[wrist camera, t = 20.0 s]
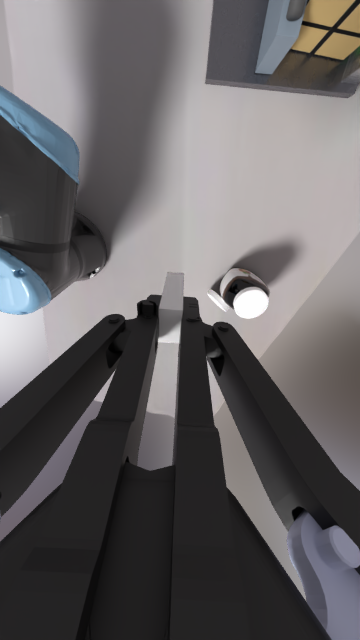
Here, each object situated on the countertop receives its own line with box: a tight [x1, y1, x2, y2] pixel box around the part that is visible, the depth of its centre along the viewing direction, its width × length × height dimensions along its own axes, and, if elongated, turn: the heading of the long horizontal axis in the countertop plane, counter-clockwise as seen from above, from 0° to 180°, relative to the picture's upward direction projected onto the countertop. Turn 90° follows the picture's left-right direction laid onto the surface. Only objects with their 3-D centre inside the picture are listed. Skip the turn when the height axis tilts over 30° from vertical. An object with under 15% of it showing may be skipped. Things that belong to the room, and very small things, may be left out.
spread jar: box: [207, 268, 270, 319], centre depth 44 cm, size 12×11×12 cm
